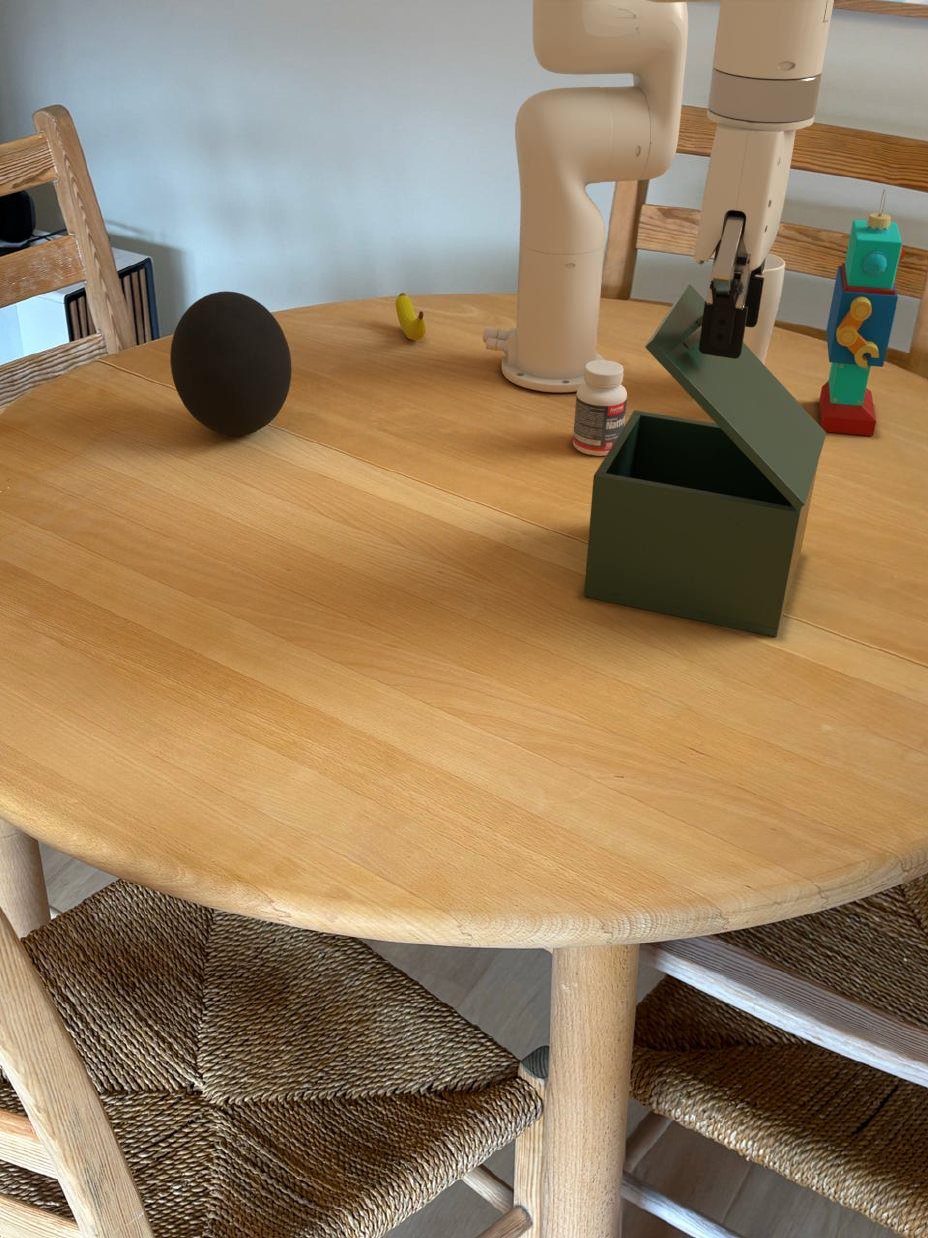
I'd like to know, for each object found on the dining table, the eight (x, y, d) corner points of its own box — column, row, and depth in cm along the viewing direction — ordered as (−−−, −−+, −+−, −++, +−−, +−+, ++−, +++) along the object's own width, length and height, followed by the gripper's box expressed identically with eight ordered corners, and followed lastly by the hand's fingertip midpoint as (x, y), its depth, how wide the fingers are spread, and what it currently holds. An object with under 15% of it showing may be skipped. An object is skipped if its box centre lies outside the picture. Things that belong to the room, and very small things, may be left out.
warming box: (583, 596, 108) (593, 475, 101) (623, 524, 118) (634, 409, 112) (776, 637, 103) (800, 512, 96) (799, 557, 114) (822, 440, 107)
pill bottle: (608, 461, 129) (615, 381, 124) (563, 449, 131) (569, 370, 126) (630, 442, 133) (638, 364, 128) (587, 430, 135) (593, 353, 130)
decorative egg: (228, 467, 127) (214, 326, 118) (156, 430, 134) (137, 294, 125) (319, 429, 134) (311, 294, 126) (246, 396, 141) (234, 266, 133)
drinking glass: (701, 393, 144) (717, 265, 135) (714, 371, 149) (731, 247, 140) (759, 403, 142) (780, 273, 133) (770, 381, 147) (791, 255, 138)
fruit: (430, 350, 153) (430, 311, 150) (413, 352, 153) (413, 313, 150) (409, 321, 161) (409, 283, 158) (393, 323, 161) (393, 285, 158)
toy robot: (874, 443, 133) (925, 207, 119) (816, 437, 134) (860, 202, 120) (867, 399, 143) (914, 176, 129) (813, 394, 144) (854, 172, 130)
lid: (644, 347, 94) (699, 298, 90) (683, 289, 104) (733, 244, 101) (797, 510, 96) (855, 469, 93) (819, 438, 107) (873, 399, 104)
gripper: (733, 69, 96) (704, 296, 106) (683, 118, 82) (655, 372, 93) (832, 78, 94) (793, 309, 104) (797, 129, 80) (756, 388, 90)
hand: (728, 336), depth 98 cm, fingers closed on lid, 6 cm apart
